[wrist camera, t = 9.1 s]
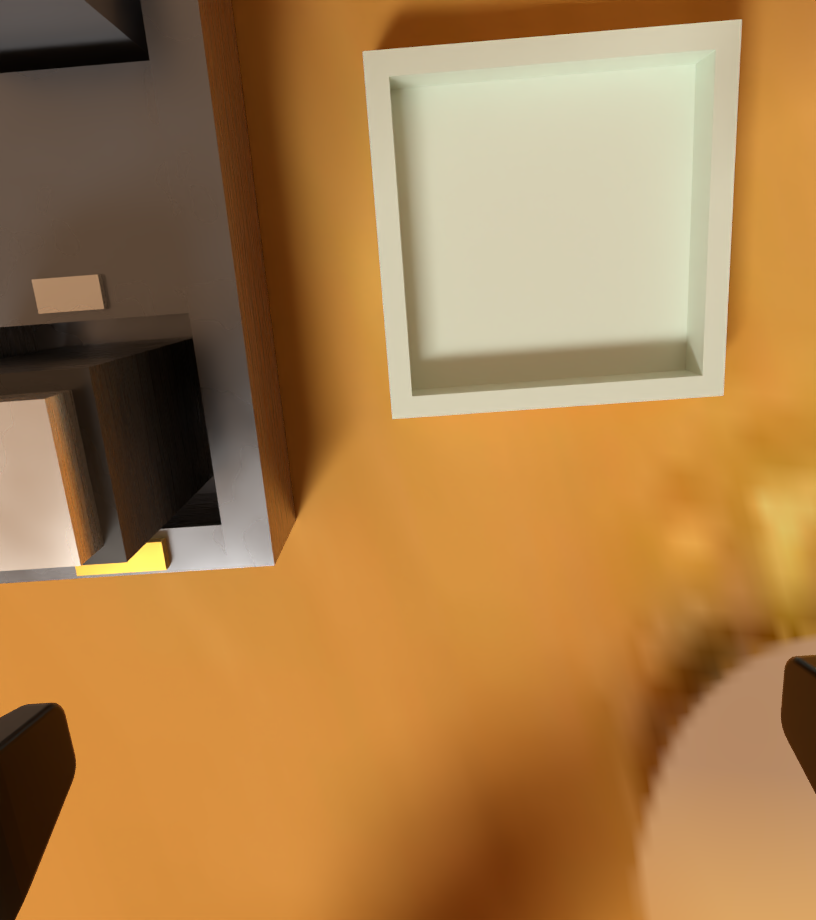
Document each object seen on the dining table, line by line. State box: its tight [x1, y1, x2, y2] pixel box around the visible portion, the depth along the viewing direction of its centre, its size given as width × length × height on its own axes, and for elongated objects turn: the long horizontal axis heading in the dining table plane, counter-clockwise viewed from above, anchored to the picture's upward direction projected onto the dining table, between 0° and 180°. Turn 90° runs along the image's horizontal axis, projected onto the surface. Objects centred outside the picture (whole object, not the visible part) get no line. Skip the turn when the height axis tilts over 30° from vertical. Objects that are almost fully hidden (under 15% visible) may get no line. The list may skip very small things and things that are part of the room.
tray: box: [363, 19, 742, 419], centre depth 18 cm, size 9×9×2 cm
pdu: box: [0, 0, 296, 583], centre depth 15 cm, size 8×20×8 cm, turn 4°
